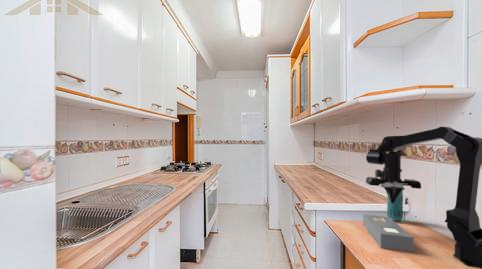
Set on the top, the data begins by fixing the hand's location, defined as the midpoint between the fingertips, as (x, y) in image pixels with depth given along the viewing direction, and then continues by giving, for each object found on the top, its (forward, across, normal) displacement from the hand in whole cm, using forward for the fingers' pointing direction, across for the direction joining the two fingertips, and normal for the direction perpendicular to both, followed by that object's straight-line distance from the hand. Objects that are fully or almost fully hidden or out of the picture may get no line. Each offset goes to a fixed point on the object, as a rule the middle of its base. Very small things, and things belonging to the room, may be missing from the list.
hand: (392, 203), depth 94 cm
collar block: (+12, +5, +7) cm, 15 cm away
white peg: (+12, +5, +13) cm, 18 cm away
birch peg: (+12, +5, +1) cm, 13 cm away
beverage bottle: (+12, -7, -16) cm, 21 cm away
